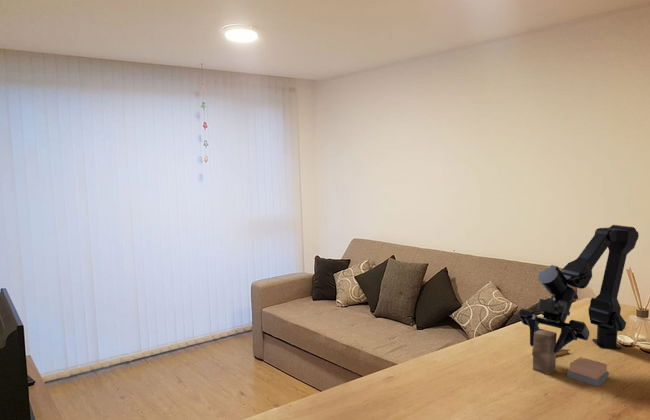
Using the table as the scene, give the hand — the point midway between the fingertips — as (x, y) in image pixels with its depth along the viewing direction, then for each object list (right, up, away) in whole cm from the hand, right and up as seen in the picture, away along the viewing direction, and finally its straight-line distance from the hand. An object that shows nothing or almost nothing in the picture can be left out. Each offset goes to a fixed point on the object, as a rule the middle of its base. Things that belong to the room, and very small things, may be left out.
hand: (542, 348), depth 135 cm
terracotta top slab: (+11, -5, -4) cm, 13 cm away
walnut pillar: (+1, -6, +2) cm, 7 cm away
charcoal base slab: (+11, -7, -3) cm, 14 cm away
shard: (+8, -6, +14) cm, 17 cm away
